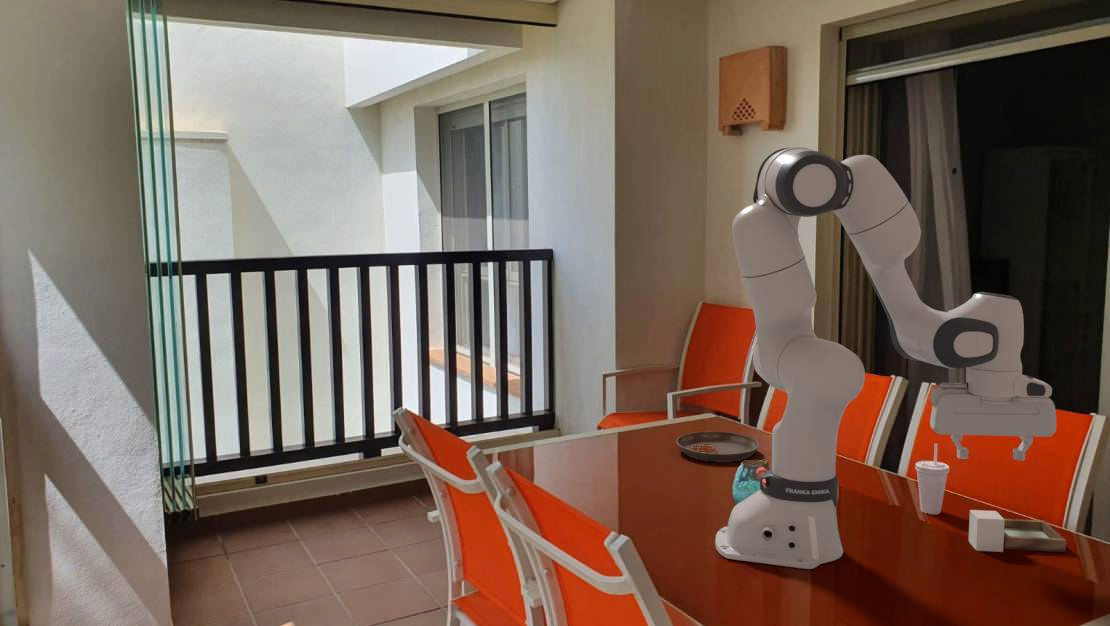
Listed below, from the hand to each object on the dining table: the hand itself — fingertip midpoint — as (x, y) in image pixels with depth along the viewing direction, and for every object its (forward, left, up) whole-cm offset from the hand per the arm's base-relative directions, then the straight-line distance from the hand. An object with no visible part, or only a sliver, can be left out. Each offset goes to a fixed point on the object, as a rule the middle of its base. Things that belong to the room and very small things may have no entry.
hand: (990, 458), depth 153 cm
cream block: (0, 0, -16) cm, 16 cm away
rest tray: (+8, +4, -16) cm, 19 cm away
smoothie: (-5, +18, -17) cm, 25 cm away
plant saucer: (-47, +56, -17) cm, 75 cm away
